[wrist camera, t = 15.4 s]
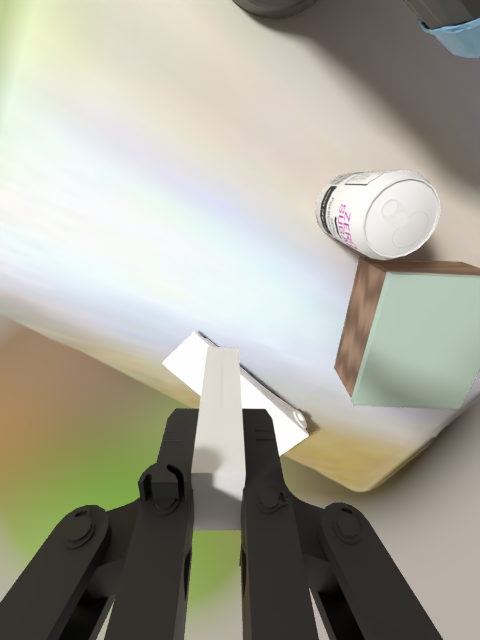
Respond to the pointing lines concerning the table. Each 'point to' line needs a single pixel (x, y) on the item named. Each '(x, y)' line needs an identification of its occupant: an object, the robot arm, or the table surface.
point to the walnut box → (366, 303)
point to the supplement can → (379, 212)
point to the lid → (422, 342)
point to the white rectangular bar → (286, 419)
